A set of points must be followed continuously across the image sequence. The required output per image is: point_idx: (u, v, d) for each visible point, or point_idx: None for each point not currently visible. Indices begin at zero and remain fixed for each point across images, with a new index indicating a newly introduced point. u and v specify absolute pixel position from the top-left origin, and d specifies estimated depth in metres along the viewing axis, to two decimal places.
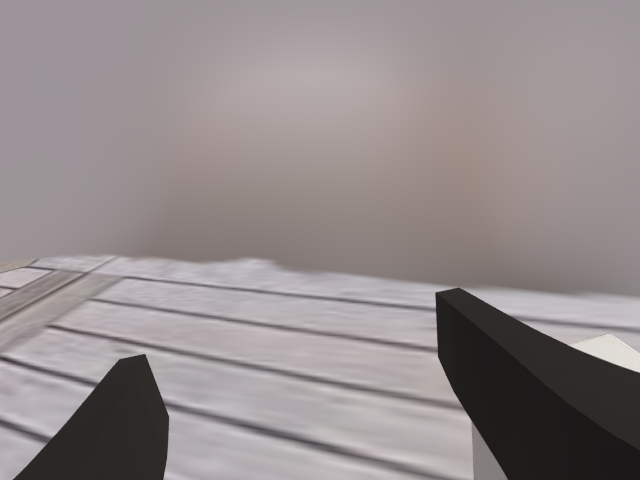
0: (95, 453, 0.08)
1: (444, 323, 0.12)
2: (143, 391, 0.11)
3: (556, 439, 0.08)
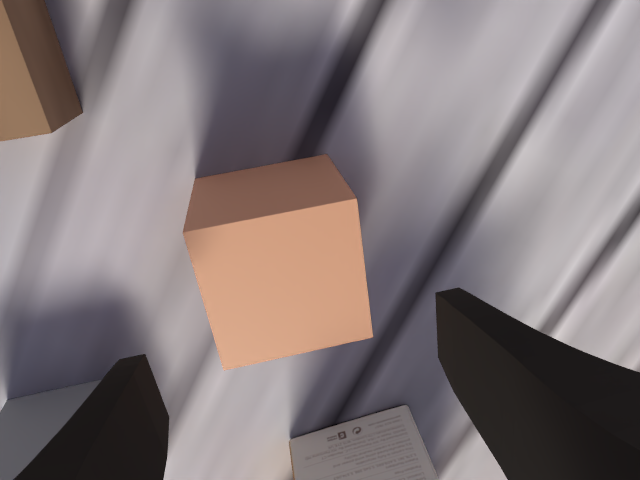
0: (95, 453, 0.08)
1: (444, 323, 0.12)
2: (143, 391, 0.11)
3: (556, 439, 0.08)
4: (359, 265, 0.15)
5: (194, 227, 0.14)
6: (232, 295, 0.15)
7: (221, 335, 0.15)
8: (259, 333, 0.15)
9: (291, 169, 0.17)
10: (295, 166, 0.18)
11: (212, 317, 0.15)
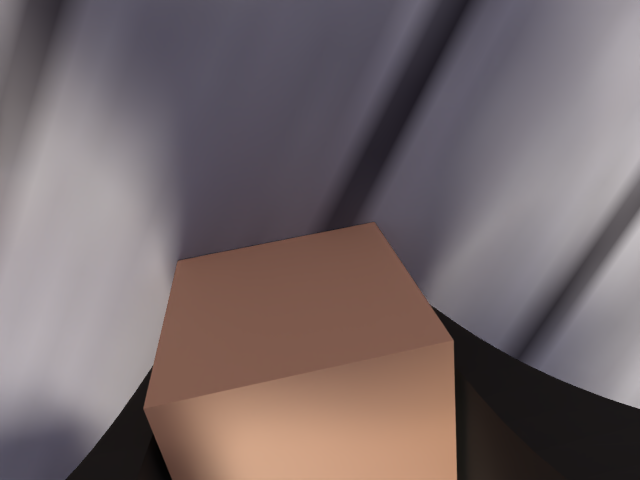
0: None
1: None
2: None
3: (494, 454, 0.08)
4: (447, 438, 0.09)
5: (165, 395, 0.08)
6: None
7: None
8: None
9: (324, 252, 0.11)
10: (330, 246, 0.11)
11: None
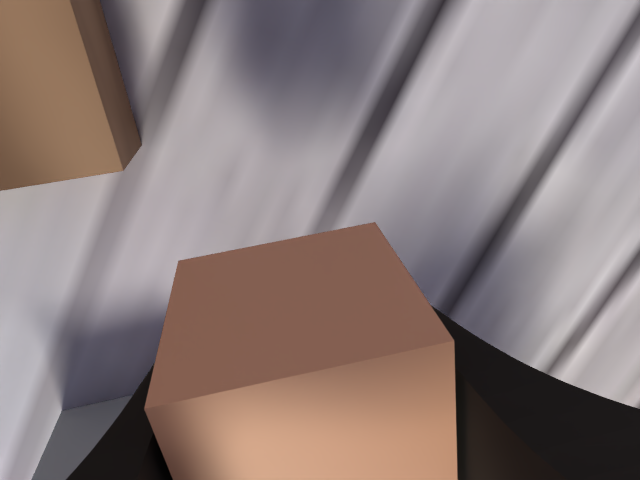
0: (156, 439, 0.08)
1: None
2: None
3: (493, 454, 0.08)
4: (447, 438, 0.09)
5: (166, 395, 0.08)
6: None
7: None
8: None
9: (324, 252, 0.11)
10: (330, 247, 0.11)
11: None
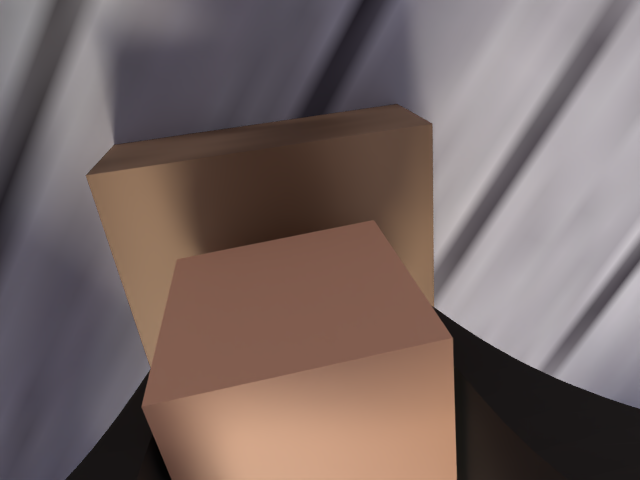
0: None
1: None
2: None
3: (494, 454, 0.08)
4: (446, 436, 0.09)
5: (163, 393, 0.08)
6: None
7: None
8: None
9: (323, 250, 0.11)
10: (329, 244, 0.11)
11: None
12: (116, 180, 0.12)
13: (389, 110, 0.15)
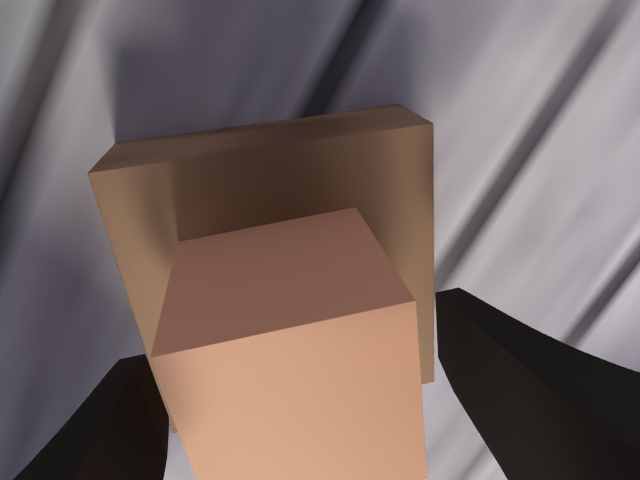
0: (95, 453, 0.08)
1: (444, 323, 0.12)
2: (143, 391, 0.11)
3: (556, 439, 0.08)
4: (414, 389, 0.10)
5: (168, 347, 0.09)
6: (226, 437, 0.10)
7: None
8: None
9: (309, 233, 0.13)
10: (315, 228, 0.13)
11: (197, 467, 0.10)
12: (118, 178, 0.12)
13: (390, 110, 0.15)
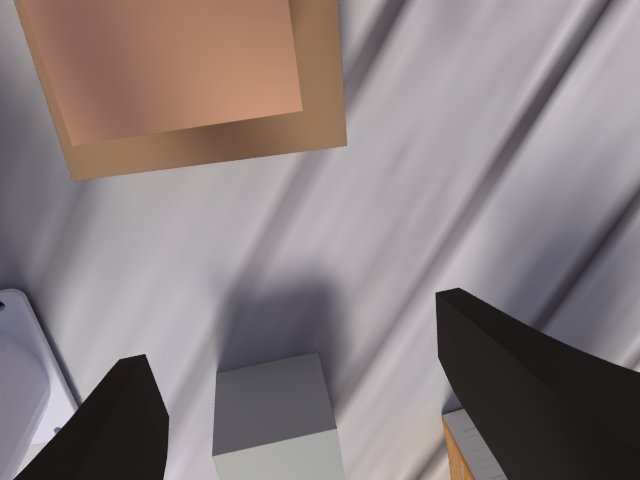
0: (95, 453, 0.08)
1: (444, 323, 0.12)
2: (143, 391, 0.11)
3: (556, 439, 0.08)
4: None
5: None
6: (71, 1, 0.09)
7: (61, 78, 0.10)
8: (123, 82, 0.10)
9: None
10: None
11: (42, 40, 0.09)
12: None
13: None
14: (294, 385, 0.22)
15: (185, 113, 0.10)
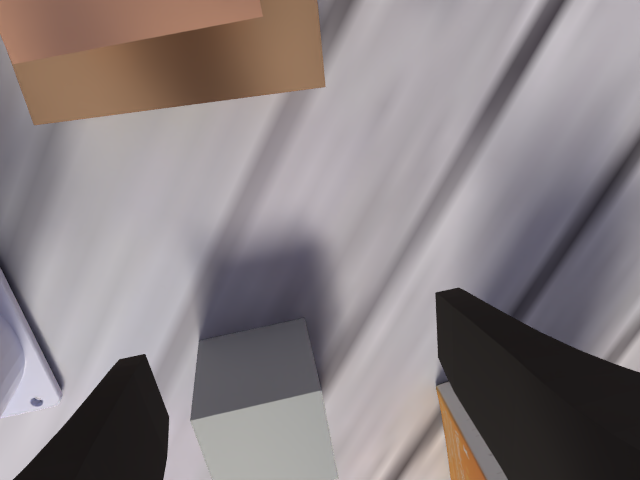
0: (95, 453, 0.08)
1: (444, 323, 0.12)
2: (143, 391, 0.11)
3: (556, 439, 0.08)
4: None
5: None
6: None
7: None
8: None
9: None
10: None
11: None
12: None
13: None
14: (278, 350, 0.21)
15: (134, 23, 0.10)
